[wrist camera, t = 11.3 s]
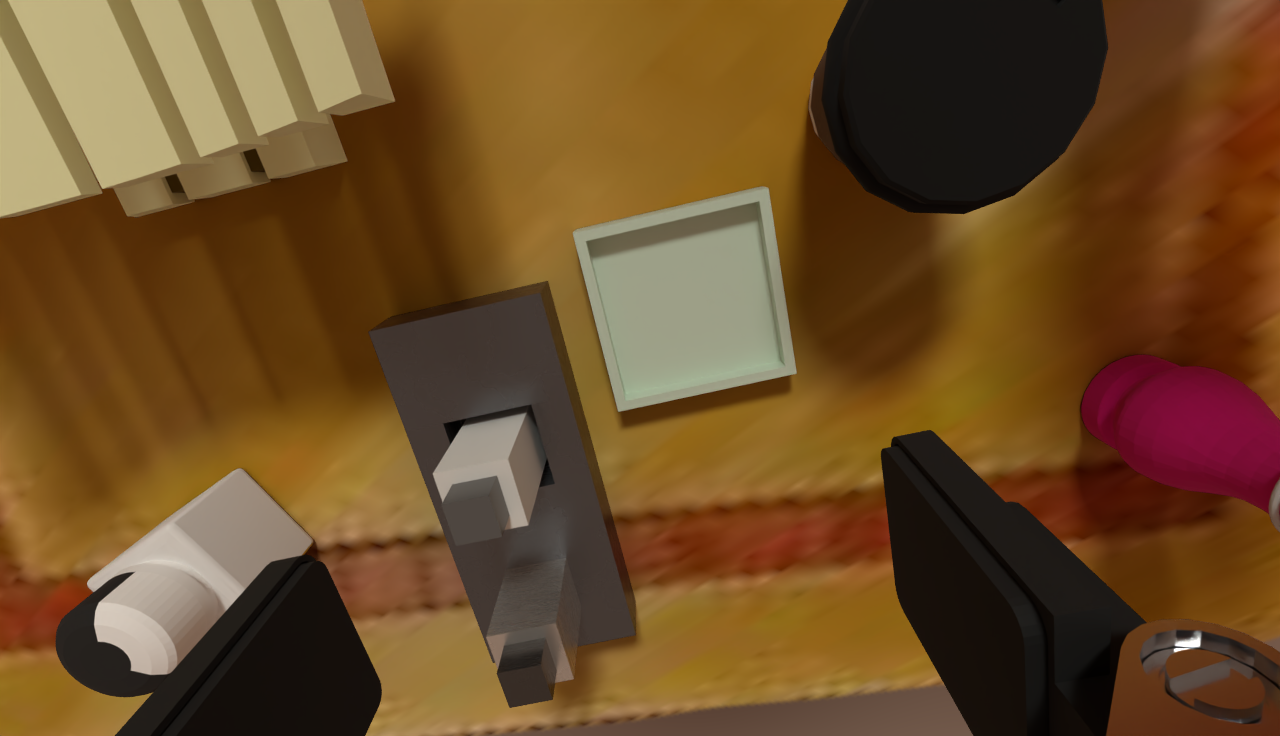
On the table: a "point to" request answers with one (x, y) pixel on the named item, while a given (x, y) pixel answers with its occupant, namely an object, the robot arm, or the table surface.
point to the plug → (491, 474)
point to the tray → (688, 298)
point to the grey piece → (567, 495)
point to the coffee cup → (956, 95)
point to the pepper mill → (1188, 428)
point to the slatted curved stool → (175, 96)
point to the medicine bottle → (174, 587)
